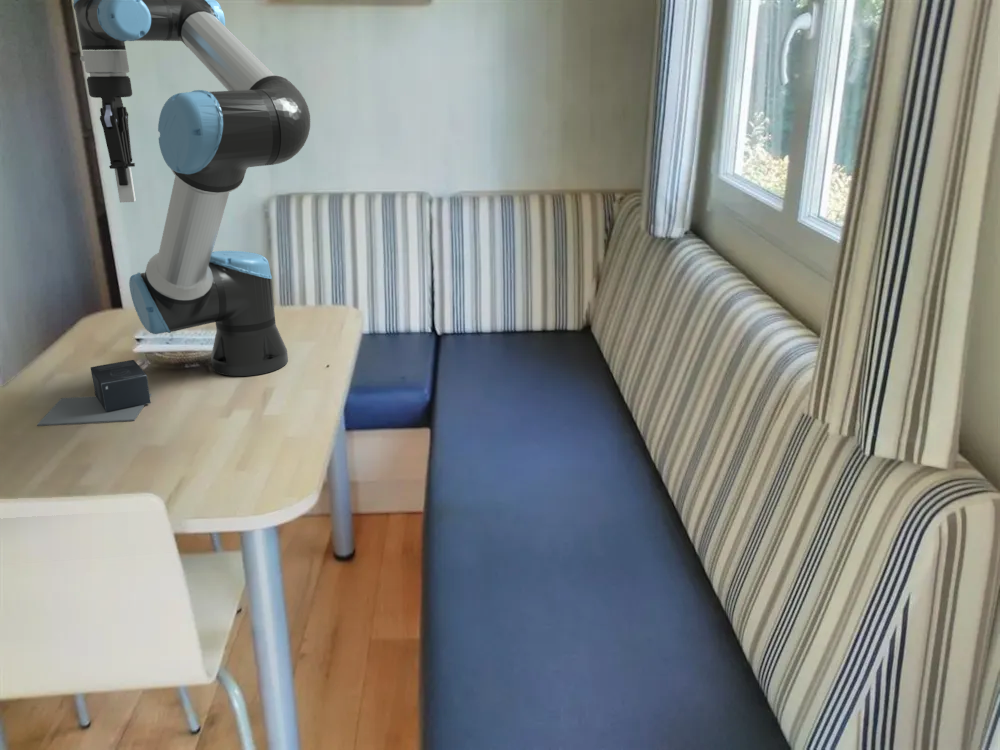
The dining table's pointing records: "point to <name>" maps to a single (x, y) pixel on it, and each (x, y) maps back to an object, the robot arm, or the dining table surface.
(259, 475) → the dining table surface
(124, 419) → the mat
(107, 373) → the box
